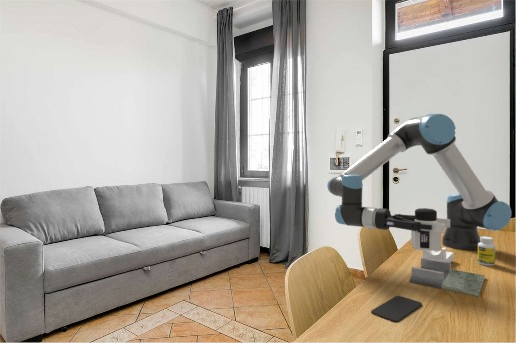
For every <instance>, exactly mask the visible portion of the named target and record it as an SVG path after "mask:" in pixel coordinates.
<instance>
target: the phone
mask: <svg viewBox="0 0 516 343" xmlns="http://www.w3.org/2000/svg"><path fill="white" fill-rule="evenodd" d="M421 307H423V303H422V302H421V301H418V300H415V299H412V298H408V297H405V296H402V295H395V296H394V297H392V298H389V300H387V301H385V302H384V303H382V304H380V305H378V306H376V307H375V308H373V309H371V311H370V312H371V314H372V315H373V316H376V315H377V316H376V317H380V318H382V319H385V320H387V321H390V322H393V323H399V322H401V321H402V320H404V319H405V318H406V317H408V316H410V315H411V314H412V313H414V312H416V311H417V310H419V309H420V308H421Z"/></svg>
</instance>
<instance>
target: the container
mask: <svg viewBox="0 0 516 343" xmlns="http://www.w3.org/2000/svg"><path fill="white" fill-rule="evenodd" d="M414 215H415V221H416V222H430V223H437V218H438V212H437V210H435V209H434V208H429V207H426V208H425V207H424V208H423V207H420V208H417V209H415V210H414ZM410 231H411V236H410V240H411V242H410V243H411V245H412V247H413V249H414V250H416V251H423V250H430V251H441V249H442V248H441V244H442V240H441V239H442V238H441V237H442V235H441V234H442V233H440V232H431V231H423V230H421V232H420V233H418V232H417V231H412V230H410Z"/></svg>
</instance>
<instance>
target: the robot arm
mask: <svg viewBox="0 0 516 343" xmlns="http://www.w3.org/2000/svg"><path fill="white" fill-rule="evenodd" d="M455 130H456V124H455V123H454V121H453V119H452V118H450V117H449V116H448V115H446V114H442V113H429V114H427V115H422V116H417V117H413V118H409V119H408V120H406V121H405V122H404V123H402V124H401V125H399V126H398V127H397V128H395V129H394V130H393V131H391V132H390V133H389V134H388V135H387V138H386V139H385V140H384V141H382V143H380V144H378V146H376V147H375V148H373V149H372V150H371V151H369V152H368V153H367V154H365V155H364V156H363V157H362V158H360V159H359V160H358V161H356V162H354V164H353V165H351V166H350V167H349V168H348V169H345V171H344V172H342V173H340V174H339V175H338V176H335V177H332V178H330V179H329V180H328V182H327V187H326V188H327V190H328V192H329V193H331V194H332V195H334V196H336V197H340V198H341V204H339V205H338V206H336V208H335V212H334V218H335V221H336V223H338V224H340V225H345V226H351V227H361V228H367V229H368V230H371V229H377V230H384V231H388V230H389V229H390V228H396V229H400V230H401V229H402V230H408V231H411V230H412V231H417V232H418V233H420V232H421V230H423V231H431V232H440V233H441V234H443V235H442V238H441V239H442V240H441V244H442V245H444V246H446V247H448V248H453V249H459V250H468V251H469V250H471V251H472V250H474V251H475V250H478V243H480V242H481V241H480V237H481V236H480V233H479V231H478V228H482V229H485V230H488V231H501V230H503V229H505V227H506V226H508V224H509V223H510V221H511V218H512V209H511V206H510V205H509V204H508V202H507V203H506V202H504V201H503V200H498V199H497V196H495V194H494V193H493V192H492V191H490V190H487V189H485V187H484V186H483V184H482V182H481V181H480V179H479V177H478V176H477V175H476V173H475V172H474V170H473V169H472V167H471V166H470V165H469V162H468V161H467V160H466V158H465V157H464V156H463V154H462V152H461V151H460V150H459V148H458V146H457V145H456V140H457V137H456V131H455ZM416 146H421V148H422V149H423V150H424V151H425V153H426V154H427V155H429V156H433V157H434V159H435V160H436V161H437V163H438V165H439V166H440V167H441V169H442V171H443V172H444V173H445V175H446V176H447V178H448V179H449V181H450V182H451V184H452V185H453V187H454V188H455V189H456V191H457V192H458V194H449V195H448V196H447V197H446V198H447V199H446V218H442V217H441V218H440V217H437V223H430V222H416V221H415V214H414V215H413V214H401V213H395V214H393V215H392V214H391V210H390V209H388V208H382V207H380V208H378V207H370V206H363V186H364V185H363V181H364V180H365V179H367V178H368V177H369V176H370V175H372V174H373V173H374V172H375V171H377V170H378V169H379V168H382V166H383V165H384V164H386V163H388V162H389V161H390V160H392V158H394V157H395V156H396V155H398V154H399V153H404V152H406V151H407V150H409V149H411V148H413V147H416Z"/></svg>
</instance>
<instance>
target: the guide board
mask: <svg viewBox="0 0 516 343" xmlns="http://www.w3.org/2000/svg"><path fill="white" fill-rule="evenodd" d="M451 263H452V261H451V262H446V261H440V260H434V259H427V258H423V257H421V258H420V267H416V266H411V269H410V270H411V273H410V274H411V275H410V278H409V282H410V283H413V284H418V285H423V286H427V287H433V288H437V289H442V290H447V291H451V292H456V293H462V294H466V295H470V296H476V297H479V296H480V293H481V291H482V287H483V284H484V281H485V277H486V276H485V274H480V273H474V272H468V271H462V270H457V269H452V268H451V266H452V265H451Z"/></svg>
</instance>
